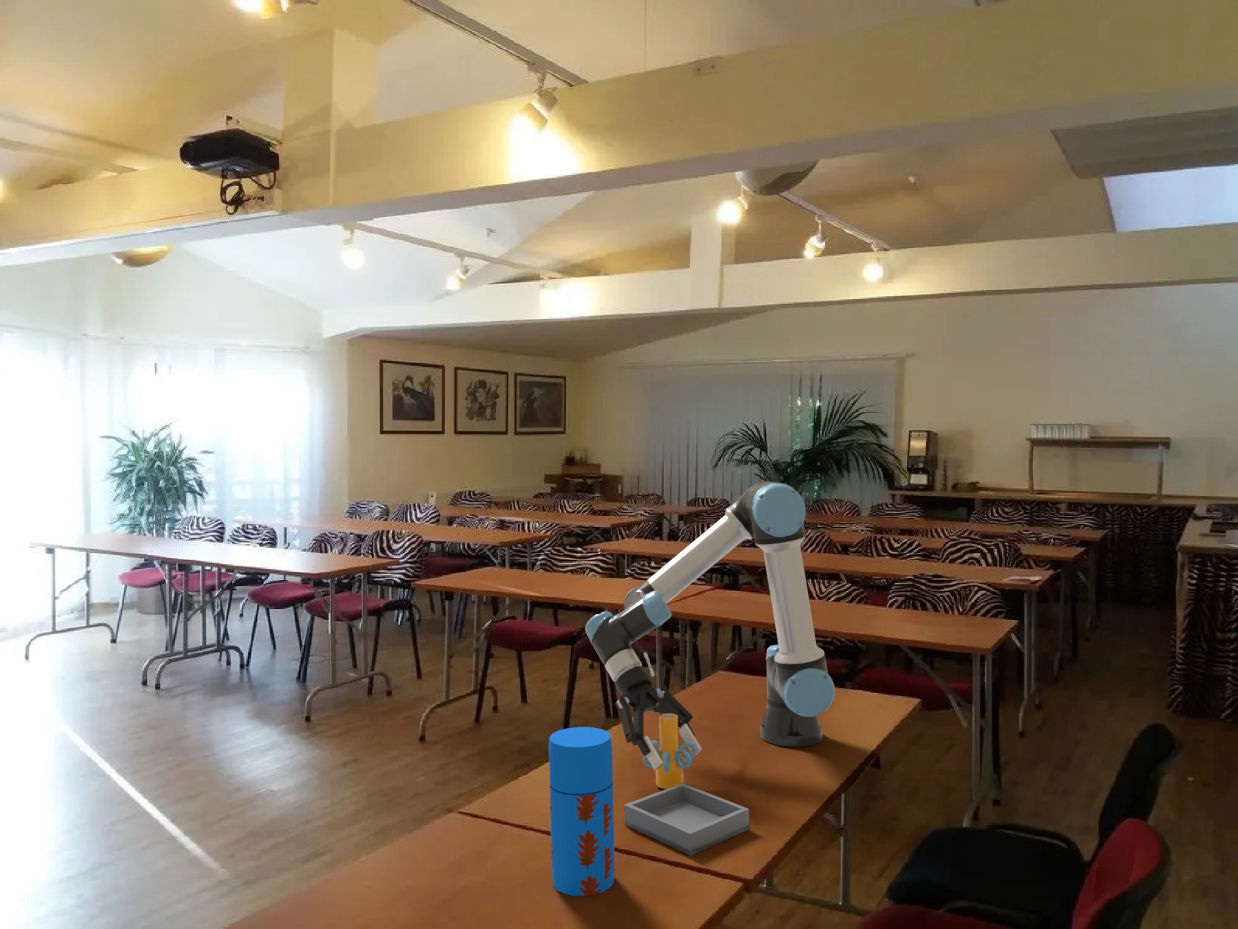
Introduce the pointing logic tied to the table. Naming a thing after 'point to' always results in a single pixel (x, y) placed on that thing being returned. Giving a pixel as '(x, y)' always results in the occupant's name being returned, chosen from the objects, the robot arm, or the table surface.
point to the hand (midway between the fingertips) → (678, 759)
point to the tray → (686, 818)
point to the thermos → (581, 810)
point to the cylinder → (670, 753)
